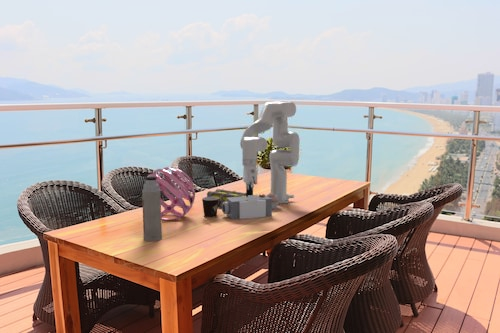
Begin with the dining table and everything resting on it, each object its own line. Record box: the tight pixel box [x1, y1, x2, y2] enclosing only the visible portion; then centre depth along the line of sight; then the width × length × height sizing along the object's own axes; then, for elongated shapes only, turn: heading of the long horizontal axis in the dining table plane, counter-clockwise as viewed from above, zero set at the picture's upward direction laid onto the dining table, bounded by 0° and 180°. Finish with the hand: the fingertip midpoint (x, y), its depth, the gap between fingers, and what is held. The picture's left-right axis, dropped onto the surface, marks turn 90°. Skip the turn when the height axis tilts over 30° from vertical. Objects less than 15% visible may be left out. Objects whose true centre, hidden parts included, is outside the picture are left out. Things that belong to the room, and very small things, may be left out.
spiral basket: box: [144, 166, 196, 222], centre depth 243 cm, size 28×28×27 cm
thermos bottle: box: [141, 176, 163, 242], centre depth 208 cm, size 8×8×28 cm
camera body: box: [221, 193, 273, 220], centre depth 246 cm, size 25×10×11 cm, turn 108°
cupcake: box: [265, 191, 279, 210], centre depth 264 cm, size 9×9×10 cm
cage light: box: [206, 188, 246, 209], centre depth 273 cm, size 15×8×30 cm
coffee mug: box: [201, 196, 221, 219], centre depth 247 cm, size 12×9×10 cm
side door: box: [238, 194, 267, 221], centre depth 241 cm, size 14×1×13 cm, turn 108°
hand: (249, 196), depth 245 cm, fingers closed
